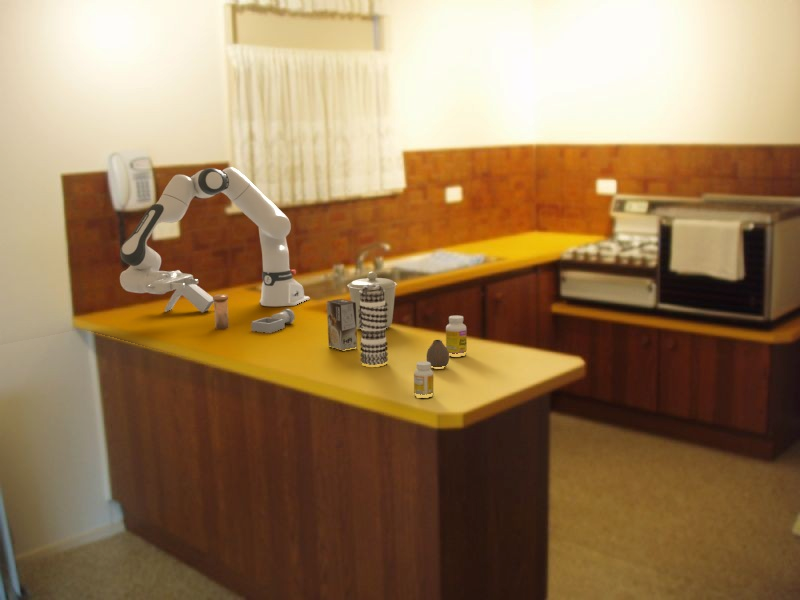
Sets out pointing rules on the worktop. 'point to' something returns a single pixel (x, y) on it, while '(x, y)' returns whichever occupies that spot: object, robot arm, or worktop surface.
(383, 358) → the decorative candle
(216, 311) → the copper pipe stub
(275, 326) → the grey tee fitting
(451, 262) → the worktop surface
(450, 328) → the supplement bottle
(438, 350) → the vase
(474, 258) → the worktop surface
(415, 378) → the supplement bottle
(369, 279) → the canister
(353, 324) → the coffee box
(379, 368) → the worktop surface
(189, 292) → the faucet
